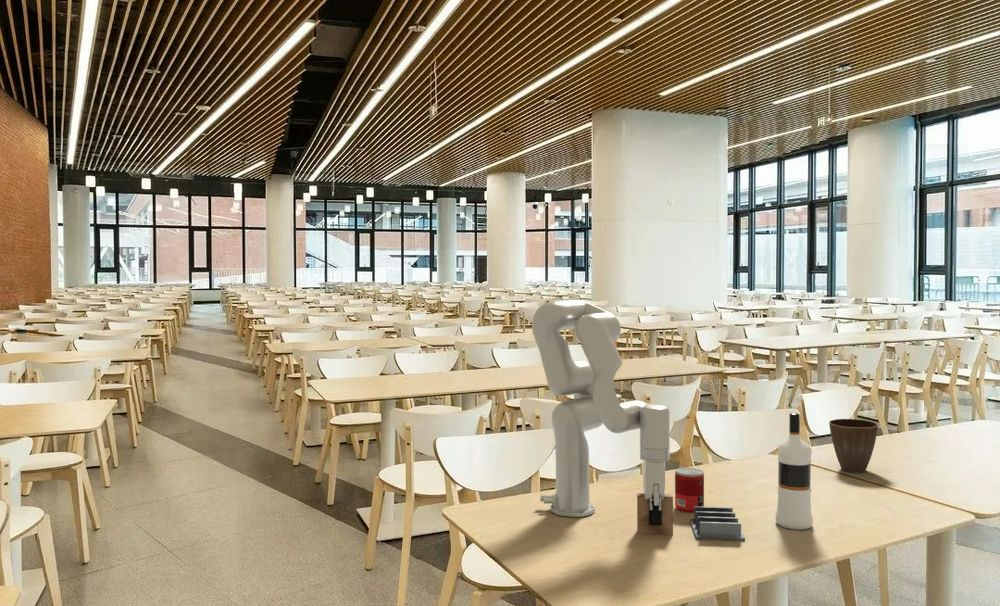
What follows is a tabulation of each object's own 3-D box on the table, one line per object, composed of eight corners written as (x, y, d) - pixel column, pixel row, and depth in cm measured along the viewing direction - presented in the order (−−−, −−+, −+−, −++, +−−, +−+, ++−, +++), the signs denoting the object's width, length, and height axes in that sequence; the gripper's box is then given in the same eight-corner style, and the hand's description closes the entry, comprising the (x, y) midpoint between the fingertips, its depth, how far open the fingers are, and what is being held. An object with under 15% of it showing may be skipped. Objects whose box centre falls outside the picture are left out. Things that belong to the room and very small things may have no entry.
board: (637, 533, 196) (637, 495, 196) (637, 530, 199) (637, 493, 198) (673, 535, 195) (672, 496, 195) (672, 532, 197) (672, 494, 197)
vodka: (767, 522, 204) (768, 411, 203) (793, 517, 208) (793, 408, 207) (795, 533, 196) (795, 417, 194) (820, 527, 200) (821, 414, 198)
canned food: (704, 514, 212) (704, 475, 211) (675, 512, 213) (675, 473, 213) (703, 505, 219) (703, 468, 219) (674, 504, 221) (674, 466, 220)
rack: (696, 539, 192) (696, 522, 192) (690, 521, 205) (690, 506, 205) (745, 541, 190) (745, 524, 190) (736, 523, 203) (736, 507, 203)
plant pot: (847, 477, 247) (848, 428, 246) (819, 465, 261) (819, 419, 261) (887, 474, 250) (888, 426, 249) (857, 463, 264) (858, 417, 264)
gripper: (638, 445, 204) (638, 513, 205) (641, 460, 189) (641, 533, 189) (667, 446, 203) (667, 513, 204) (672, 461, 188) (672, 534, 188)
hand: (655, 522), depth 197 cm, fingers closed on board, 2 cm apart
